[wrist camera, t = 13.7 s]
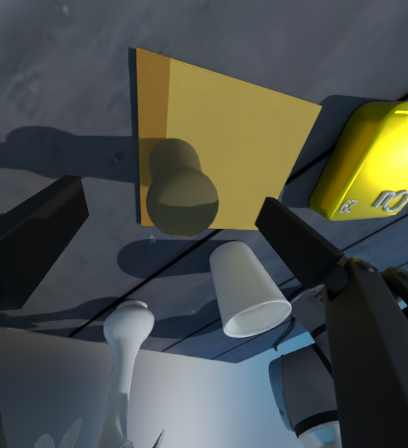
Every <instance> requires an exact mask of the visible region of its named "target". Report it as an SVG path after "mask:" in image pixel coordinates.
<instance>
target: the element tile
mask: <svg viewBox="0 0 408 448" xmlns="http://www.w3.org/2000/svg"><path fill="white" fill-rule="evenodd" d="M407 202H408V101H400V102H371V103H367V104H365V105H362V106H360V107H359V108H358V109H357V110H355V112H354V113H353V114H352V115H351V117H350V118H349V120H348V122H347V123H346V125H345V127H344V130H343V132H342V134H341V136H340V138H339V140H338V142H337V144H336V146H335V148H334V150H333V152H332V154H331V156H330V158H329V160H328V163H327V165H326V167H325V169H324V171H323V173H322V175H321V177H320V179H319V181H318V183H317V185H316V187H315V189H314V191H313V193H312V196H311V198H310V201H309V206H310V208H312V209H313V210H314V211H316V212H317V213H319V214H320V215H322V216H323V217H325V218H326V219H328V220H330V221H343V220H355V219H368V218H381V217H388V216H391V215H394V214H397V213H398V212H399V211H400V210H401V209H402V208H403V207H404V206H405V204H406V203H407Z"/></svg>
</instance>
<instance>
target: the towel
mask: <svg viewBox="0 0 408 448" xmlns="http://www.w3.org/2000/svg"><path fill="white" fill-rule="evenodd" d="M136 66H137V100H138V135H139V170H140V204H141V226H155V225H154V224H153V223H152V221H151V219H150V217H149V216H148V213H147V207H146V197H147V193H148V188H149V186H150V185H151V183H152V180H151V175H150V171H149V164H148V161H149V156H150V153H151V151H152V149H153V148H154V146H155V145H157V144H158V143H159V142H160V141H162V140H166V139H169V138H177V139H181V140H183V141H186V142H187V143H189V144H190V145H191V146H192V147H193V148H194V149H195V151H196V152H197V154H198V157H199V161H200V165H201V170H202V173H204V174H205V175H206V176H208V177H209V178H210V180H211V181H212V183H213V184H214V186H215V188H216V189H217V193H218V198H219V207H218V213H217V215H216V217H215V219H214V221H213V223H212V224H211V225H210V226H209V227H208V228H216V229H244V230H258V228H257V227H256V226H255V221H256V219H257V217H258V214H259V212H260V210H261V207H262V205H263V203H264V200H265V198H266V197H274V198H275V199H278V197H279V195H280V192H281V190H282V188H283V186H284V184H285V182H286V180H287V178H288V176H289V174H290V172H291V170H292V168H293V166H294V164H295V162H296V160H297V157H298V155H299V153H300V151H301V149H302V147H303V145H304V143H305V141H306V139H307V137H308V135H309V133H310V131H311V129H312V127H313V125H314V122H315V120H316V118H317V116H318V114H319V112H320V110H321V108H322V106H320V105H317V104H314V103H311V102H308V101H305V100H301V99H298V98H295V97H292V96H289V95H286V94H283V93H279V92H276V91H273V90H270V89H267V88H264V87H260V86H257V85H254V84H251V83H248V82H245V81H241V80H238V79H235V78H232V77H229V76H226V75H222V74H219V73H216V72H213V71H210V70H207V69H203V68H200V67H197V66H194V65H191V64H188V63H184V62H181V61H178V60H175V59H172V58H169V57H166V56H163V55H159V54H156V53H153V52H150V51H147V50H144V49H140V48H137V47H136Z"/></svg>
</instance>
